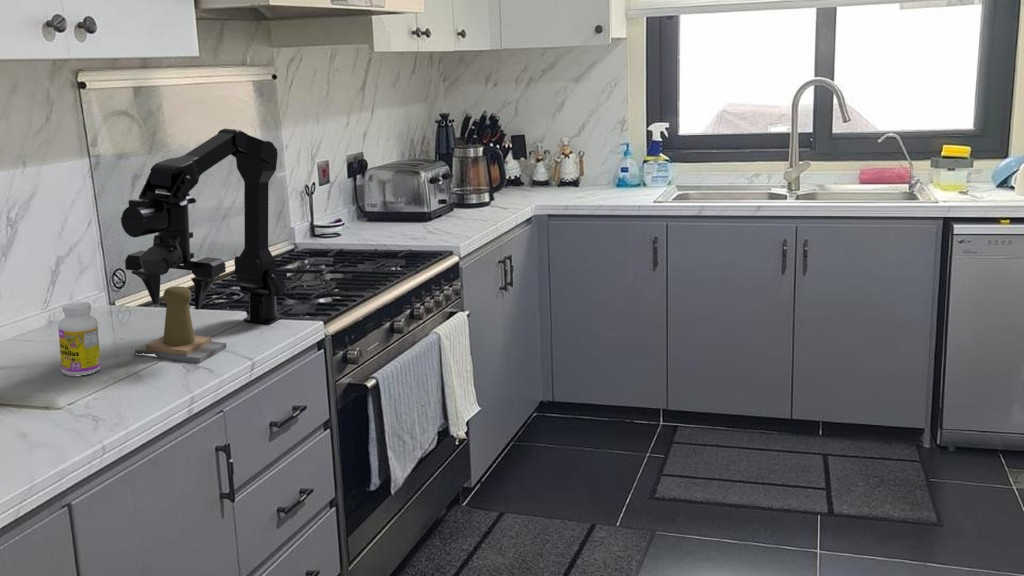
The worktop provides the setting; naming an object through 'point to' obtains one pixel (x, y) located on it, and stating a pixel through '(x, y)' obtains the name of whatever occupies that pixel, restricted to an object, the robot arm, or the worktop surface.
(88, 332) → the supplement bottle
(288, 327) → the worktop surface
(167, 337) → the cork
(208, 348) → the stand
